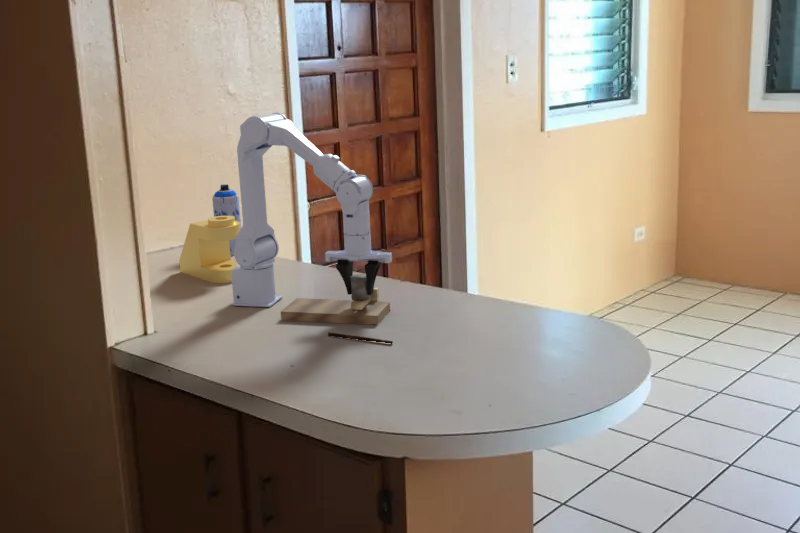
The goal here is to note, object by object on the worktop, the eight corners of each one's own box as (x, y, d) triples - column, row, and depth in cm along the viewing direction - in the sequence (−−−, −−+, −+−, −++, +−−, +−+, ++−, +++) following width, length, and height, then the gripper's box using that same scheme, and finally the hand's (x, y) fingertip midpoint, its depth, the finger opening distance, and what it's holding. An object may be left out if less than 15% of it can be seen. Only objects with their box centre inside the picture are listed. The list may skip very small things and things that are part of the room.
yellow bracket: (251, 277, 222) (246, 217, 218) (221, 285, 216) (215, 223, 212) (210, 265, 236) (204, 208, 232) (180, 272, 230) (174, 214, 226)
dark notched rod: (327, 337, 176) (326, 332, 175) (328, 336, 176) (328, 331, 176) (391, 346, 169) (391, 341, 169) (392, 345, 169) (392, 340, 169)
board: (281, 320, 187) (280, 311, 186) (297, 306, 196) (297, 297, 196) (377, 324, 181) (377, 315, 181) (390, 310, 191) (389, 301, 190)
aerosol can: (248, 249, 253) (242, 182, 247) (238, 256, 245) (232, 187, 240) (223, 249, 254) (216, 182, 249) (212, 255, 247) (205, 187, 242)
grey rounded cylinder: (345, 316, 185) (343, 280, 183) (357, 303, 194) (356, 269, 192) (367, 317, 184) (366, 281, 182) (379, 304, 192) (377, 270, 190)
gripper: (319, 236, 181) (322, 297, 185) (384, 237, 178) (387, 300, 181) (329, 229, 188) (333, 288, 192) (393, 230, 184) (395, 290, 188)
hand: (360, 293), depth 187 cm, fingers closed on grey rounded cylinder, 4 cm apart
